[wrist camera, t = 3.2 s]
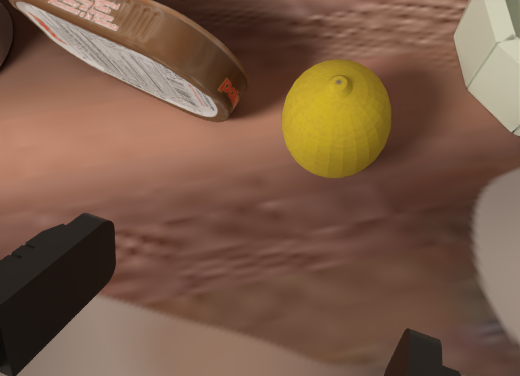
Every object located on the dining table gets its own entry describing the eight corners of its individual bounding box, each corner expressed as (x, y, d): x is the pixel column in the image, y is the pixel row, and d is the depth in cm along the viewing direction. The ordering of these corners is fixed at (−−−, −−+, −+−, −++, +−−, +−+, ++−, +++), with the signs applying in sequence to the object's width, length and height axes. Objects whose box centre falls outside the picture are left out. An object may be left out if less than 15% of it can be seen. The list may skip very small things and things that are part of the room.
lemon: (353, 96, 26) (369, 8, 19) (395, 172, 25) (430, 109, 17) (272, 130, 26) (255, 57, 19) (308, 209, 25) (305, 162, 17)
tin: (260, 106, 27) (237, 19, 19) (236, 147, 26) (202, 75, 18) (83, 27, 31) (1, -73, 23) (58, 61, 30) (-35, -30, 22)
